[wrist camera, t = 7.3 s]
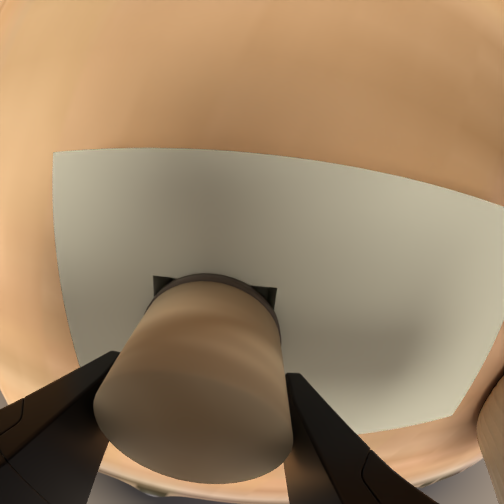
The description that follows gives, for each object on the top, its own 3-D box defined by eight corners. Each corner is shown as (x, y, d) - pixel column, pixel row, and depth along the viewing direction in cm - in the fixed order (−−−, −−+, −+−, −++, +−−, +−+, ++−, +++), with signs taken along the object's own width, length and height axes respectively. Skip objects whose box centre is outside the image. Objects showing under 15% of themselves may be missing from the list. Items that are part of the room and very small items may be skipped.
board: (489, 204, 11) (533, 218, 8) (429, 381, 15) (451, 415, 12) (99, 151, 11) (53, 152, 8) (117, 369, 15) (94, 409, 11)
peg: (282, 254, 11) (319, 380, 5) (267, 351, 13) (277, 488, 6) (163, 243, 11) (68, 346, 4) (166, 341, 13) (116, 465, 6)
